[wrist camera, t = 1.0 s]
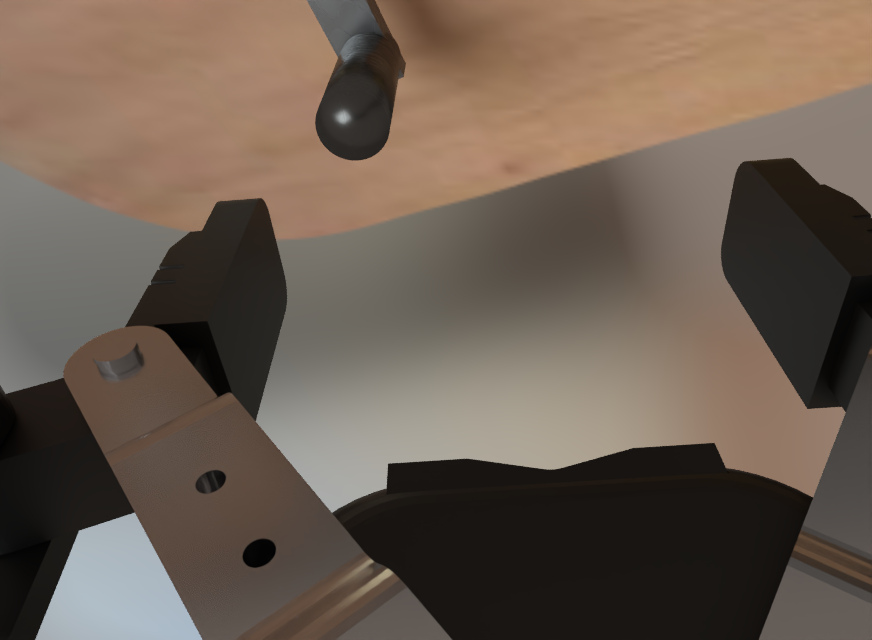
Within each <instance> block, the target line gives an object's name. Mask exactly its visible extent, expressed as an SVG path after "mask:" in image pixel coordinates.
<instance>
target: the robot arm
mask: <svg viewBox="0 0 872 640" xmlns="http://www.w3.org/2000/svg"><path fill="white" fill-rule="evenodd" d="M721 260H722V267H723V272H724V275H725V277H726V279H727V281H728V283H729V284H730V286H731V287H732V289H733V291H734V292H735V294H736V295H737V297H738V299H739V300H740V302H741V304H742V305H743V307H744V308H745V310H746V311H747V313H748V315H749V316H750V318H751V319H752V321H753V323H754V324H755V326H756V327H757V329H758V331H759V332H760V334H761V335H762V337H763V339H764V340H765V342H766V343H767V345H768V347H769V348H770V350H771V351H772V353H773V355H774V356H775V358H776V359H777V361H778V363H779V364H780V366H781V367H782V369H783V371H784V372H785V374H786V375H787V377H788V378H789V380H790V382H791V383H792V385H793V386H794V388H795V390H796V391H797V393H798V394H799V396H800V398H801V399H802V401H803V402H804V404H805V406H806V407H807V409H812V408H827V407H843V409H844V410H845V412H846V413H845V416H844V419H843V421H842V425H841V427H840V430H839V432H838V434H837V437H836V440H835V442H834V445H833V448H832V450H831V453H830V455H829V458H828V461H827V463H826V466H825V468H824V471H823V473H822V476H821V479H820V482H819V484H818V487H817V489H816V492H815V494H814V497H811V496H809V495H807V494H805V493H803V492H801V491H799V490H797V489H795V488H792V487H790V486H787V485H785V484H783V483H780V482H778V481H775V480H772V479H769V478H766V477H763V476H760V475H757V474H752V473H748V472H744V471H740V470H735V469H727V468H725V465H724V463H723V461H722V459H721V457H720V454H719V452H718V450H717V448H716V445H715V444H714V443H707V444H692V445H676V446H662V447H661V446H660V447H645V448H632V449H629V450H625V451H622V452H618V453H615V454H611V455H607V456H604V457H600V458H597V459H593V460H589V461H586V462H582V463H579V464H576V465H572V466H568V467H565V468H561V469H555V470H546V469H538V468H530V467H523V466H516V465H508V464H502V463H494V462H487V461H480V460H473V459H457V460H456V459H455V460H441V461H424V462H409V463H392V464H388V476H387V489H383V490H380V491H377V492H374V493H371V494H369V495H366V496H364V497H361V498H359V499H356V500H354V501H352V502H351V503H348V504H347V505H345V506H343V507H341V508H339V509H337V510H336V511H334V512H333V513H331V511H330V510H329V509H328V508H327V507H326V506H325V504H324V503H323V502H322V501H321V499H320V498H319V497H318V496H317V495H316V493H315V492H314V491H313V490H312V489H311V487H310V486H309V485H308V484H307V483H306V482H305V480H304V479H303V478H302V477H301V475H300V474H299V473H298V472H297V471H296V469H295V468H294V467H293V466H292V465H291V464H290V462H289V461H288V460H287V459H286V458H285V456H284V455H283V454H282V453H281V451H280V450H279V449H278V448H277V447H276V445H275V444H274V443H273V442H272V441H271V439H270V438H269V437H268V436H267V435H266V433H265V432H264V431H263V430H262V429H261V428H260V427H259V425H258V424H257V423H256V418H257V414H258V410H259V407H260V403H261V399H262V396H263V392H264V388H265V384H266V381H267V377H268V373H269V370H270V366H271V362H272V359H273V355H274V351H275V348H276V344H277V340H278V337H279V333H280V329H281V326H282V322H283V318H284V314H285V311H286V305H287V289H286V280H285V275H284V271H283V267H282V263H281V259H280V255H279V251H278V247H277V243H276V239H275V235H274V231H273V227H272V223H271V219H270V215H269V211H268V208H267V206H266V203H265V202H264V200H263V199H261V198H257V199H244V200H232V201H219V202H217V203H216V205H215V207H214V208H213V210H212V212H211V214H210V216H209V218H208V220H207V222H206V224H205V226H204V228H203V230H202V231H195V232H190V233H188V234H187V235H186V236H185V237H183V238H182V239H181V240H180V241H179V242H177V243H176V244H175V245H173V246H172V247H171V248H170V249H169V250H168V252H167V254H166V256H165V257H164V259H163V261H162V263H161V264H160V266H159V267H160V270H157V272H156V273H155V275H154V277H153V279H152V280H151V285H149V286H148V288H147V289H146V291H145V293H144V295H143V296H142V298H141V300H140V302H139V303H138V305H137V307H136V309H135V310H134V312H133V314H132V316H131V318H130V319H129V321H128V323H127V325H126V326H125V328H120V329H116V330H113V331H110V332H107V333H105V334H102V335H100V336H98V337H96V338H94V339H92V340H91V341H89V342H87V343H86V344H85V345H83V346H82V347H80V348H79V349H78V350H77V351H76V352H75V353H74V354H73V355H72V356H71V357H70V359H69V360H68V362H67V363H66V365H65V368H64V375H63V376H64V378H61V379H58V380H55V381H52V382H48V383H44V384H40V385H37V386H33V387H30V388H26V389H23V390H19V391H15V392H12V393H8V394H5V392H4V391H3V389H2V387H1V386H0V640H35V638H36V635H37V633H38V631H39V629H40V626H41V623H42V621H43V618H44V616H45V614H46V611H47V609H48V606H49V604H50V601H51V599H52V596H53V594H54V591H55V589H56V586H57V584H58V581H59V579H60V576H61V574H62V571H63V569H64V566H65V564H66V561H67V559H68V556H69V554H70V552H71V549H72V546H73V544H74V542H75V539H76V536H77V534H78V531H79V530H82V529H85V528H88V527H91V526H94V525H98V524H100V523H104V522H107V521H110V520H113V519H116V518H119V517H122V516H125V515H128V514H131V513H134V512H135V513H136V515H137V517H138V519H139V521H140V523H141V525H142V527H143V528H144V530H145V532H146V534H147V536H148V538H149V539H150V542H151V543H152V545H153V547H154V549H155V551H156V553H157V555H158V557H159V558H160V560H161V562H162V564H163V566H164V568H165V569H166V572H167V573H168V575H169V577H170V579H171V581H172V583H173V584H174V587H175V589H176V590H177V592H178V594H179V596H180V598H181V600H182V602H183V604H184V605H185V607H186V609H187V611H188V613H189V615H190V617H191V618H192V620H193V622H194V624H195V626H196V628H197V630H198V631H199V634H200V635H201V637H202V639H203V640H872V218H871V215H870V214H869V213H868V212H867V211H866V210H865V209H864V208H863V207H862V206H861V205H860V204H859V203H858V202H857V201H856V200H854V199H853V198H852V197H850V196H848V195H846V194H843V193H841V192H839V191H837V190H835V189H833V188H831V187H829V186H827V185H820V184H819V183H818V182H817V181H816V180H815V179H814V178H813V177H812V176H811V175H810V174H809V173H808V172H807V171H805V169H803V168H802V167H801V166H800V165H799V164H798V163H797V162H796V161H795V160H794V159H792V158H783V159H770V160H757V161H746V162H743V163H742V164H740V166H739V167H738V169H737V172H736V175H735V179H734V184H733V189H732V195H731V200H730V204H729V210H728V215H727V220H726V225H725V231H724V236H723V241H722V247H721Z"/></svg>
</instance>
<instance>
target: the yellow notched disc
mask: <svg viewBox="0 0 872 640" xmlns="http://www.w3.org/2000/svg"><path fill="white" fill-rule="evenodd" d="M307 1H308V3H309V5H310V7H311V9H312V10H313V12H314V14H315V16H316V18H317V20H318V21H319V23H320V25H321V27H322V29H323V31H324V32H325V34H326V36H327V38H328V40H329V42H330V43H331V45H332V47H333V49H334V51H335V53H336V54H337V56H338V60H337V63H336V65H335V68H334V70H333V73H332V75H331V78H330V80H329V83H328V85H327V88H326V90H325V93H324V95H323V98H322V100H321V103H320V105H319V108H318V111H317V114H316V122H315V123H316V130H317V134H318V136H319V138H320V140H321V142H322V143H323V145H324V146H325V147H326V148H327V149H328V150H329V151H330V152H332V153H333V154H335V155H336V156H338V157H341V158H343V159H347V160H363V159H367V158H370V157H372V156H374V155H375V154H377V153H378V152H379V151H380V150H381V149H382V148H383V147H384V145H385V143H386V141H387V139H388V136H389V131H390V125H391V119H392V113H393V107H394V101H395V95H396V89H397V84H398V79H400V78H402V77H404V72H405V65H406V63H405V61H404V59H403V57H402V55H401V52H400V49H399V46H398V44H397V42H396V41H395V39H394V38H393V37H392V34H391V32H390V30H389V28H388V26H387V24H386V22H385V20H384V18H383V16H382V14H381V12H380V10H379V8H378V6H377V4H376V2H375V0H307Z"/></svg>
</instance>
